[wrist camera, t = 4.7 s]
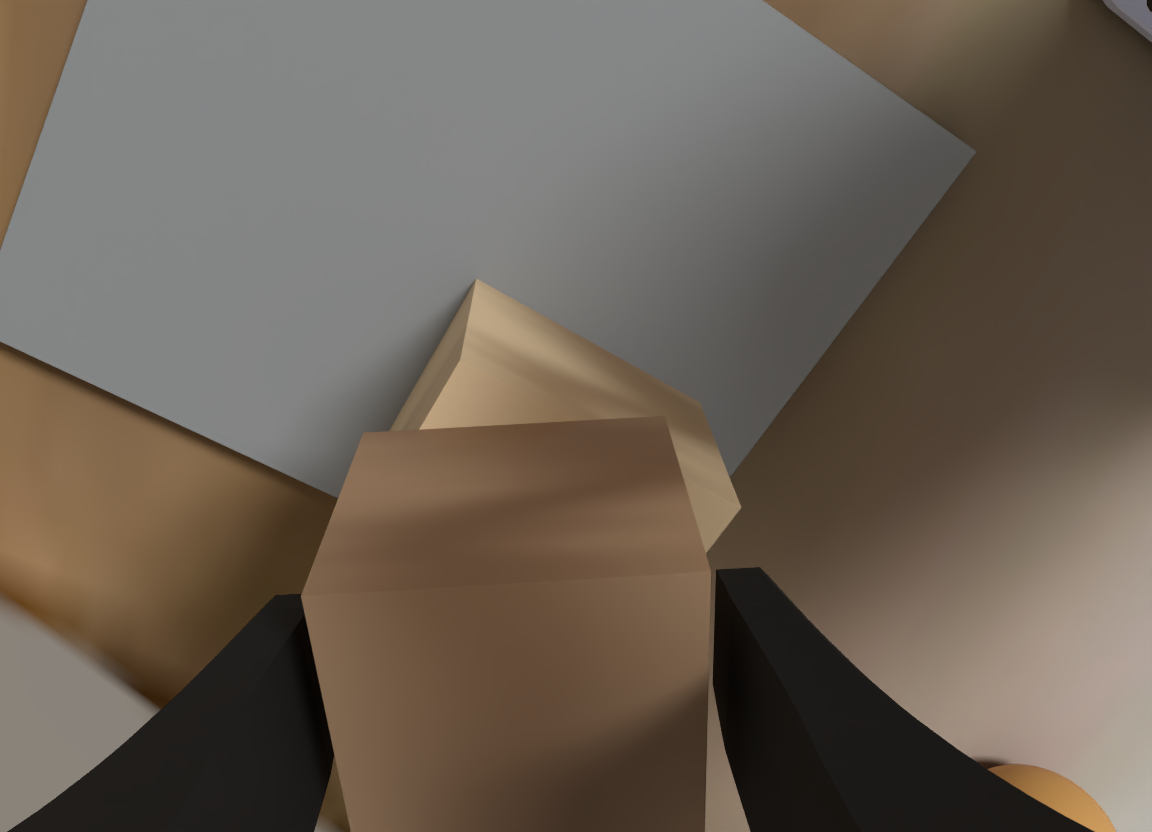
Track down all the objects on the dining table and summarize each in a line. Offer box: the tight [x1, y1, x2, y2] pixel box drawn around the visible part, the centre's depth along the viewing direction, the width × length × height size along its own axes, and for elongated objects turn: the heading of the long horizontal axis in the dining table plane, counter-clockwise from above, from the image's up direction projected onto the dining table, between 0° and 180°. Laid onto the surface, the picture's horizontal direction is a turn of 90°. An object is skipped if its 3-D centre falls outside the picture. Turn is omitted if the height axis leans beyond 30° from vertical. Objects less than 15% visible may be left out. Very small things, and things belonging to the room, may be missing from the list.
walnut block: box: [301, 416, 711, 832], centre depth 13 cm, size 4×4×4 cm
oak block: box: [389, 278, 741, 553], centre depth 16 cm, size 5×5×4 cm
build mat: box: [0, 0, 977, 498], centre depth 17 cm, size 14×12×1 cm
